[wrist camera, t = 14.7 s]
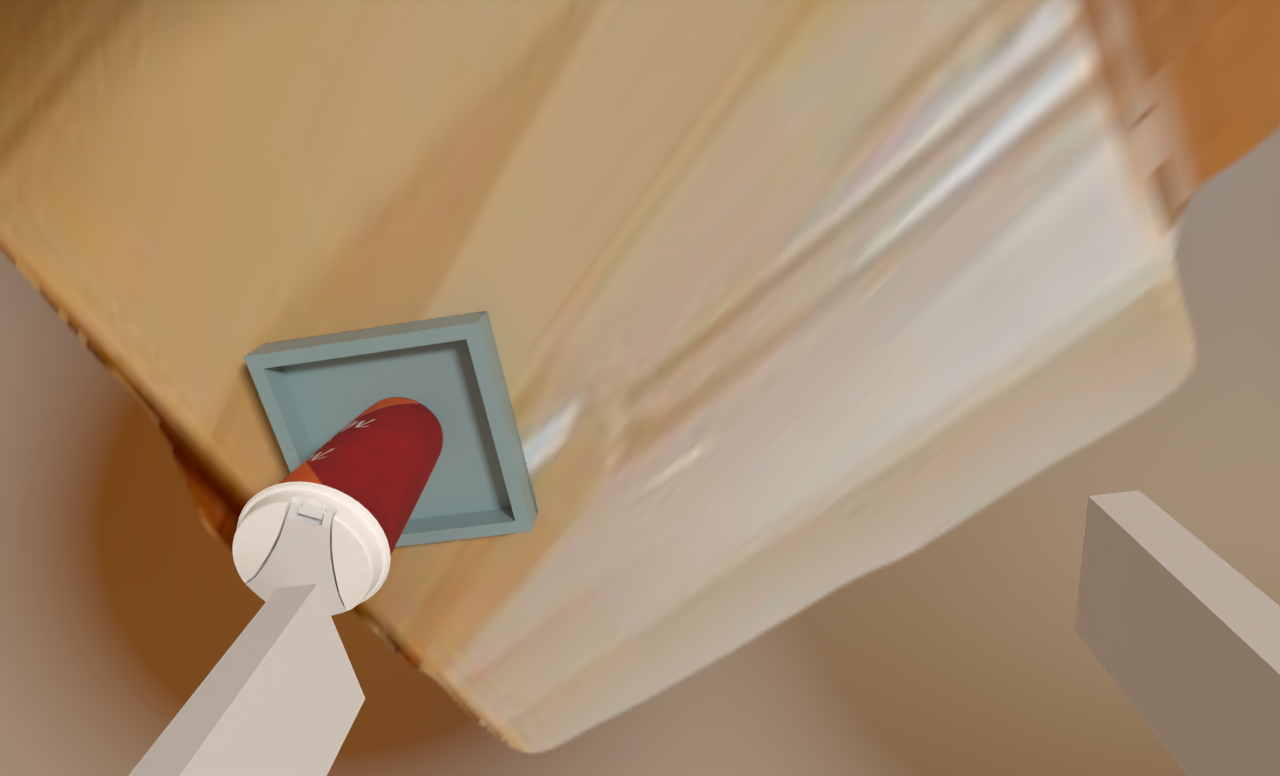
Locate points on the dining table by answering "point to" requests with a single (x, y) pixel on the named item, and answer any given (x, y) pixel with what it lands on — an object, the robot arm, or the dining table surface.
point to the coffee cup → (341, 507)
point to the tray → (427, 373)
